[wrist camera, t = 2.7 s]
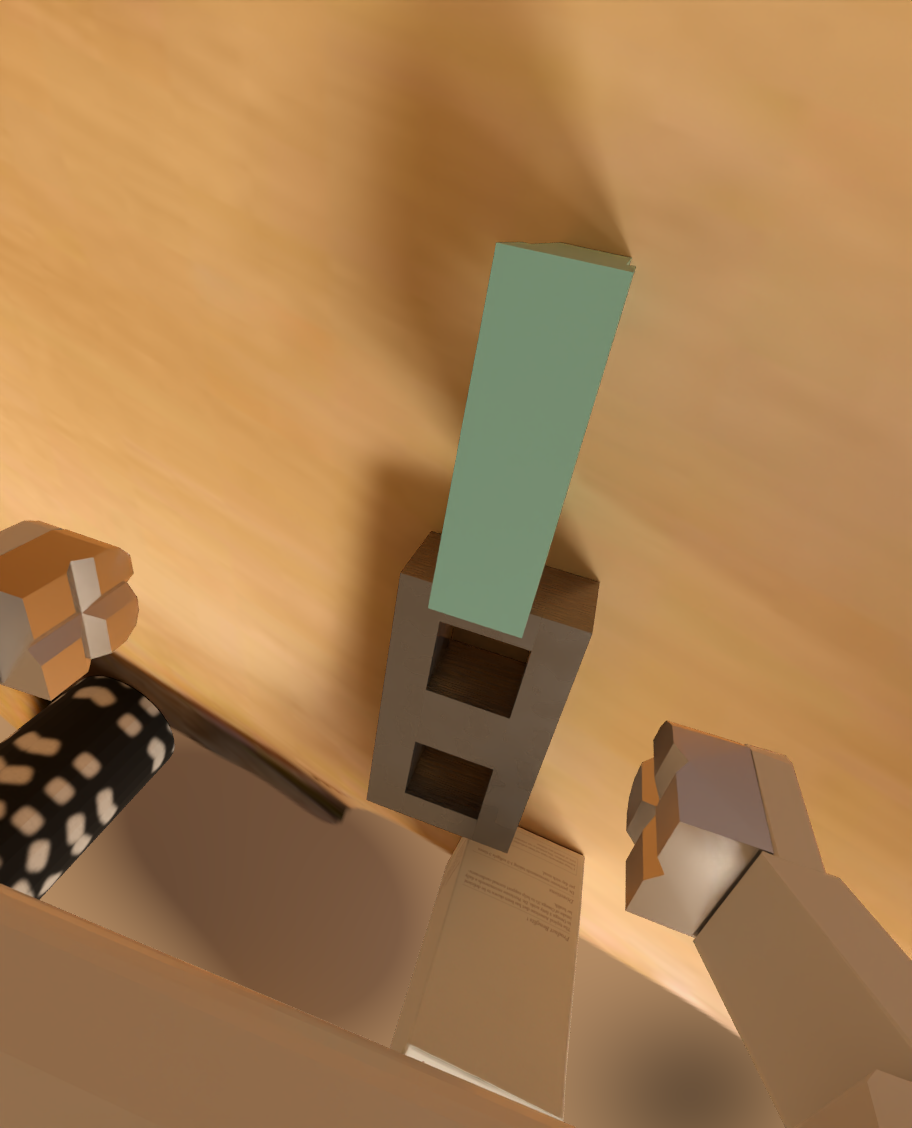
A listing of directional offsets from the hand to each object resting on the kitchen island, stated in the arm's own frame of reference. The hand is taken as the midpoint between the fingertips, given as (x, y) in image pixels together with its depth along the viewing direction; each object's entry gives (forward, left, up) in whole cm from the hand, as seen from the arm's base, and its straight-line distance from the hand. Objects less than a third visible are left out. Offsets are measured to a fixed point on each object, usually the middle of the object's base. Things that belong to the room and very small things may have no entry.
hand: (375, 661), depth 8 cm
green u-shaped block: (0, 0, -17) cm, 17 cm away
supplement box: (-5, +29, -17) cm, 34 cm away
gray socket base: (0, +15, -17) cm, 23 cm away
